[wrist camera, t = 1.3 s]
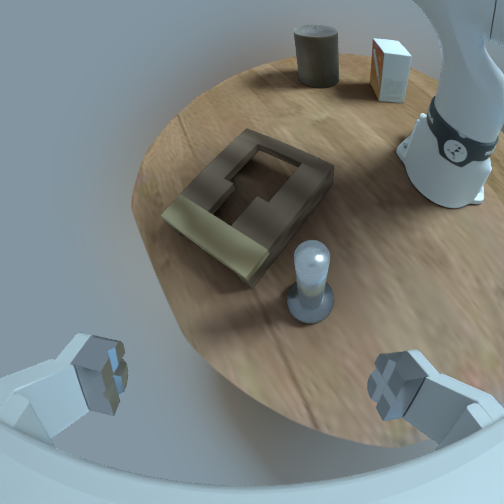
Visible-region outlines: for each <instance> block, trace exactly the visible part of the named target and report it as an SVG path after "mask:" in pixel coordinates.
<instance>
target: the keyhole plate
mask: <svg viewBox="0 0 504 504" xmlns="http://www.w3.org/2000/svg"><path fill="white" fill-rule="evenodd" d="M259 150H260V151H263V152H265V153H267V154H270V155H272V156H274V157H276V158H279V159H281V160H283V161H285V162H288V163H290V164H292V165H294V166H296V167H298V169H297V170H296V171H295V172H294V173H293V174H292V176H291V177H290V178H289V179H288V180H287V181H286V182H285V184H284V185H283V186H282V187H281V188H280V189H279V191H278V192H277V193H276V194H275V195H274V196H273V198H272V199H271V200H270V201H269V202H267V201H265V200H263V199H261V198H260V197H258V196H257V197H256V198H255V199H254V200H253V201H252V203H251V204H250V205H249V206H248V207H247V208H246V209H245V211H244V212H243V213H242V214H241V215H240V216H239V217H238V219H237V220H236V221H235V222H234V223H233V224H232V226H230V225H228V224H227V223H225V222H224V221H222V220H220V219H219V218H217V217H216V216H214V215H213V214H214V213H215V212H216V211H217V210H218V208H219V207H220V206H221V205H222V204H223V203H224V202H225V201H226V200H227V198H228V197H229V196H230V195H231V194H232V193H233V192H234V191H235V190H236V189H235V186H234V184H233V183H232V182H230V180H231V179H232V178H233V177H234V176H235V175H236V174H237V172H238V171H239V170H240V169H241V168H242V167H243V166H244V165H245V164H246V163H247V162H248V161H249V160H250V159H251V158H252V157H253V156H254V155H255V154H256V153H257V152H258V151H259ZM333 175H334V165H332V164H330V163H328V162H326V161H324V160H322V159H320V158H317V157H315V156H313V155H311V154H308V153H306V152H304V151H302V150H299V149H297V148H295V147H292V146H290V145H288V144H285V143H283V142H280V141H278V140H275V139H273V138H270V137H268V136H265V135H263V134H260V133H258V132H255V131H252V130H250V129H245V130H244V131H243V132H242V133H241V134H240V135H239V136H238V137H237V138H236V139H235V140H234V141H233V142H231V143H230V144H229V145H228V146H227V147H226V148H225V149H224V150H223V151H222V152H221V153H220V154H219V155H218V156H217V157H216V158H215V159H214V160H213V161H212V162H211V163H210V164H209V165H208V166H207V167H206V168H205V169H204V170H203V171H202V172H201V173H200V174H199V175H198V176H197V177H196V178H195V179H194V180H193V181H192V182H191V183H190V184H189V185H188V186H187V187H186V188H185V189H184V191H183V192H182V193H181V194H180V195H179V196H178V197H177V198H176V199H175V200H174V201H173V202H172V203H171V205H170V206H169V207H168V208H167V209H166V210H165V211H164V212H163V213H162V214H161V217H162V218H163V219H164V220H165V221H166V223H167V224H168V225H169V226H170V227H171V228H172V230H174V231H175V232H176V233H178V234H179V235H181V234H183V235H185V236H186V237H187V238H189V239H190V240H192V241H193V242H194V243H196V244H197V245H198V246H200V247H201V248H202V249H204V250H205V251H206V252H208V253H209V254H211V255H212V256H213V257H215V258H216V259H217V260H219V261H220V262H221V263H223V264H224V265H226V266H227V267H228V268H230V269H231V270H233V271H234V272H235V273H236V274H237V275H238V277H239V278H240V280H241V281H243V282H244V283H245V284H247V285H248V286H249V287H251V288H253V287H254V286H255V284H256V283H257V282H258V281H259V279H260V278H261V277H262V276H263V274H264V273H265V272H266V270H267V269H268V268H269V267H270V265H271V264H272V263H273V262H274V260H275V259H276V258H277V256H278V255H279V254H280V253H281V251H282V250H283V249H284V247H285V246H286V245H287V243H288V242H289V241H290V240H291V238H292V237H293V236H294V234H295V233H296V232H297V230H298V229H299V228H300V227H301V225H302V224H303V223H304V221H305V220H306V219H307V217H308V216H309V215H310V213H311V212H312V211H313V209H314V208H315V207H316V206H317V204H318V203H319V202H320V200H321V199H322V198H323V196H324V195H325V194H326V192H327V191H328V190H329V188H330V187H331V186H332V184H333Z"/></svg>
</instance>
